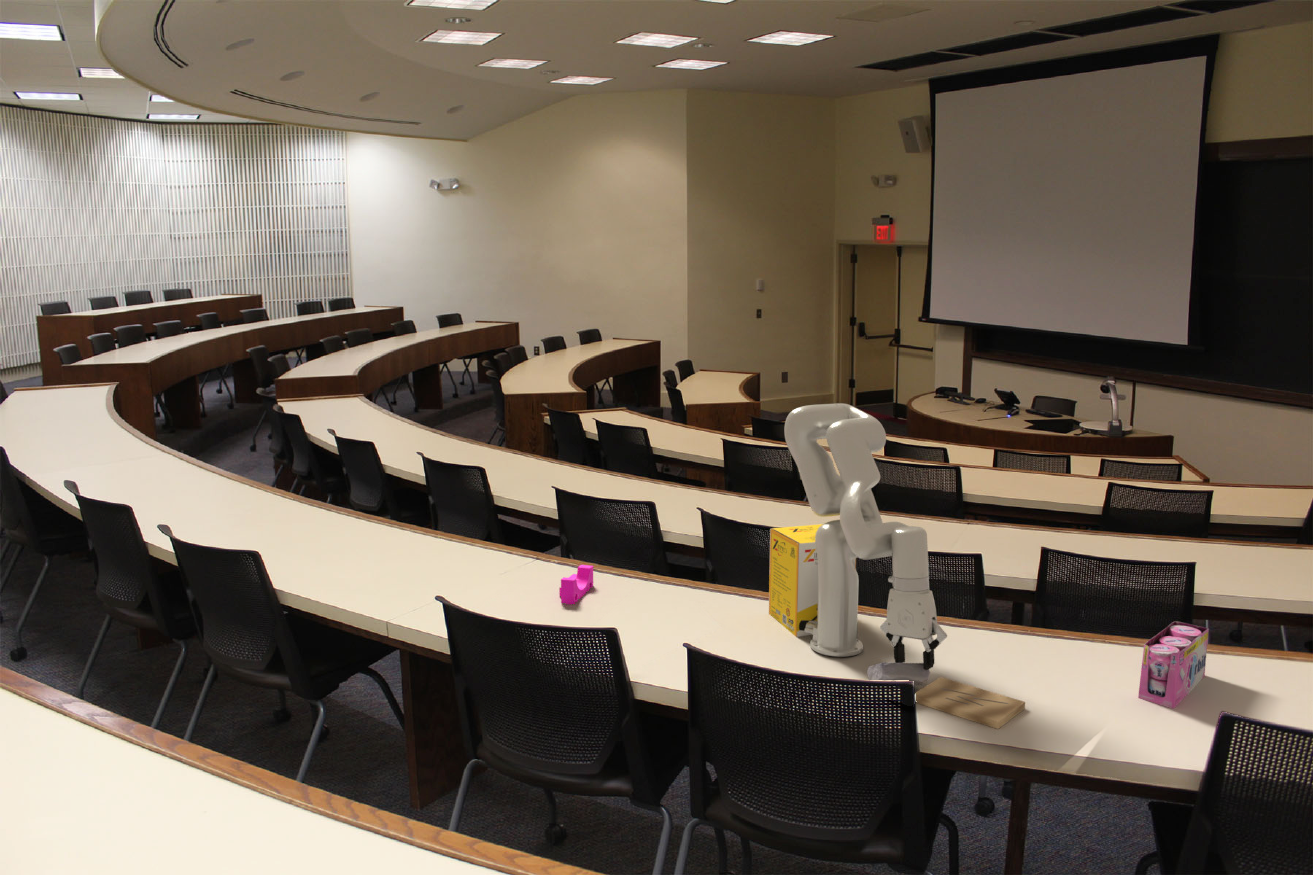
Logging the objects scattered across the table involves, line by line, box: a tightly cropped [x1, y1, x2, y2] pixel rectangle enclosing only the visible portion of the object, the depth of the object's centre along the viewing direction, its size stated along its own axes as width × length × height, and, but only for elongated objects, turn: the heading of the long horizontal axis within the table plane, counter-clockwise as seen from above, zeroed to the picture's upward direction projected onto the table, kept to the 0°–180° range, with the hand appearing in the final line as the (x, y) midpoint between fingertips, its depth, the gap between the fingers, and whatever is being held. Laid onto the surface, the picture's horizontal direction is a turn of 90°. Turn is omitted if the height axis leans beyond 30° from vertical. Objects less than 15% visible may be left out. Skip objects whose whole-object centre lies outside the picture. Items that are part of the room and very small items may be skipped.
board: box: [915, 676, 1026, 730], centre depth 202 cm, size 19×13×2 cm
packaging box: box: [768, 523, 857, 638], centre depth 248 cm, size 16×16×25 cm
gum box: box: [1137, 620, 1210, 709], centre depth 208 cm, size 22×7×13 cm, turn 135°
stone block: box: [866, 661, 931, 686], centre depth 210 cm, size 12×5×10 cm
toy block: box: [558, 564, 594, 605], centre depth 273 cm, size 15×6×8 cm, turn 162°
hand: (914, 664), depth 209 cm, fingers closed on stone block, 6 cm apart
